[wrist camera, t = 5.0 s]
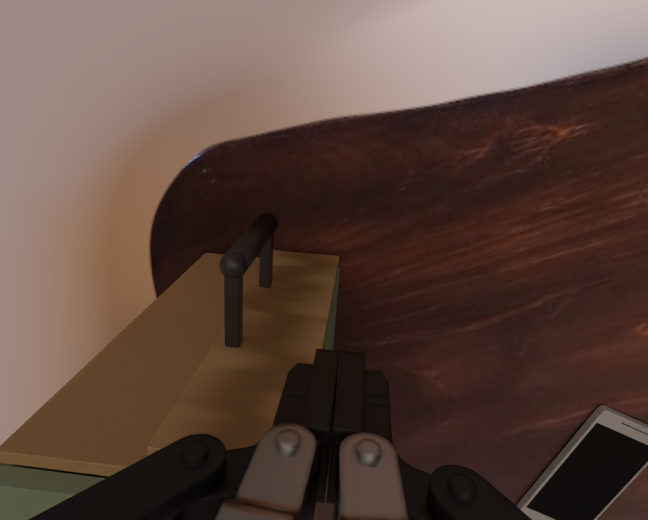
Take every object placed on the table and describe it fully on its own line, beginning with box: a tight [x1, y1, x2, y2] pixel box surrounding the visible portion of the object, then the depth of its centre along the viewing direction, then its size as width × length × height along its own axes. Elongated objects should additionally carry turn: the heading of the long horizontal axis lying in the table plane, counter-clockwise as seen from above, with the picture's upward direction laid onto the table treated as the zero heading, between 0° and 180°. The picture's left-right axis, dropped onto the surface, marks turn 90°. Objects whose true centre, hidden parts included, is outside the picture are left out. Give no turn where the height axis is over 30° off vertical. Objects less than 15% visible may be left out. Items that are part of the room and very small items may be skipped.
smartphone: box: [516, 405, 648, 520], centre depth 45 cm, size 7×16×1 cm, turn 156°
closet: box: [0, 253, 340, 520], centre depth 30 cm, size 12×10×26 cm
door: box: [147, 213, 339, 456], centre depth 27 cm, size 6×6×24 cm
